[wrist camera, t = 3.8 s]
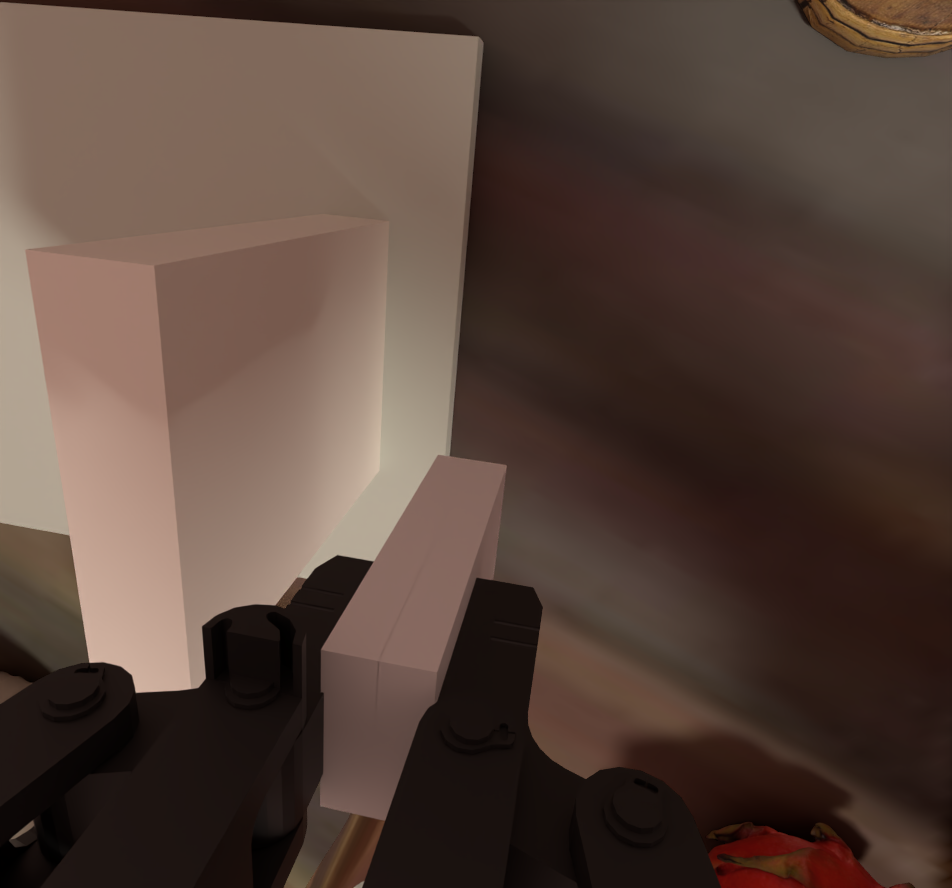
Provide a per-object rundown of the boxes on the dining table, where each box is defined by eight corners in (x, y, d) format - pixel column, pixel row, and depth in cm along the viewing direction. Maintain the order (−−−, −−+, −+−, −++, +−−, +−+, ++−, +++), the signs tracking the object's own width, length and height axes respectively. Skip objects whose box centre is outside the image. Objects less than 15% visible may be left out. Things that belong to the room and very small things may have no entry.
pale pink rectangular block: (389, 221, 25) (153, 265, 12) (379, 470, 28) (193, 711, 15) (317, 213, 25) (12, 248, 12) (317, 460, 29) (84, 688, 16)
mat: (483, 42, 23) (478, 36, 22) (438, 589, 31) (433, 601, 30) (-131, -3, 26) (-158, -10, 25) (-23, 506, 34) (-41, 515, 33)
